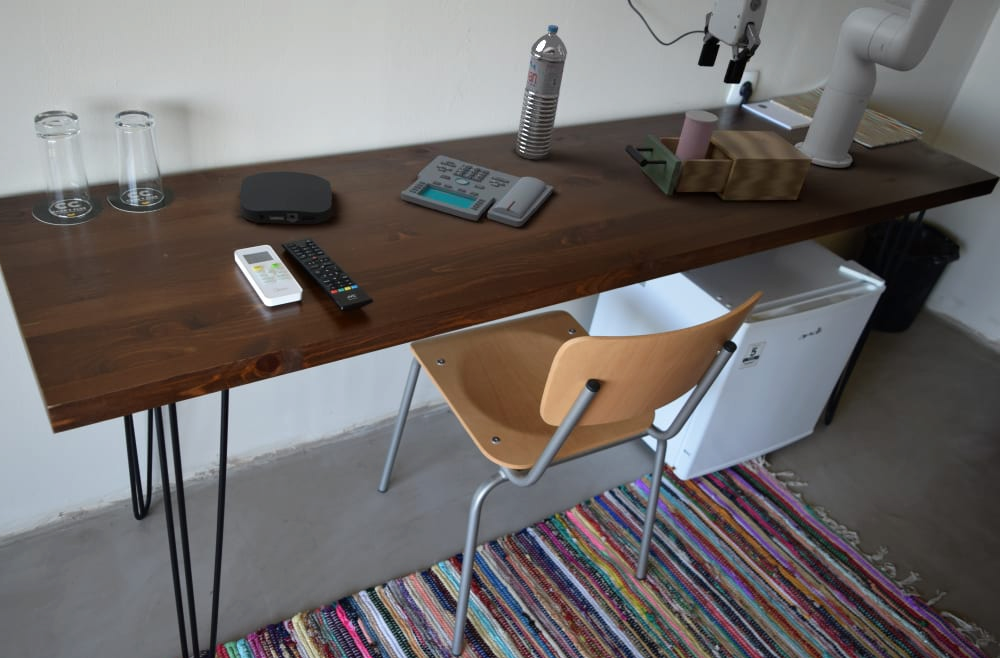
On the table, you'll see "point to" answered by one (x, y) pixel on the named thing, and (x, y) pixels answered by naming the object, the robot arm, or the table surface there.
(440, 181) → the office telephone
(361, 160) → the table surface
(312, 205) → the media streaming box
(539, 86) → the water bottle
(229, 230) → the table surface
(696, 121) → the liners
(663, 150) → the drawer
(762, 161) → the wood-grain box
